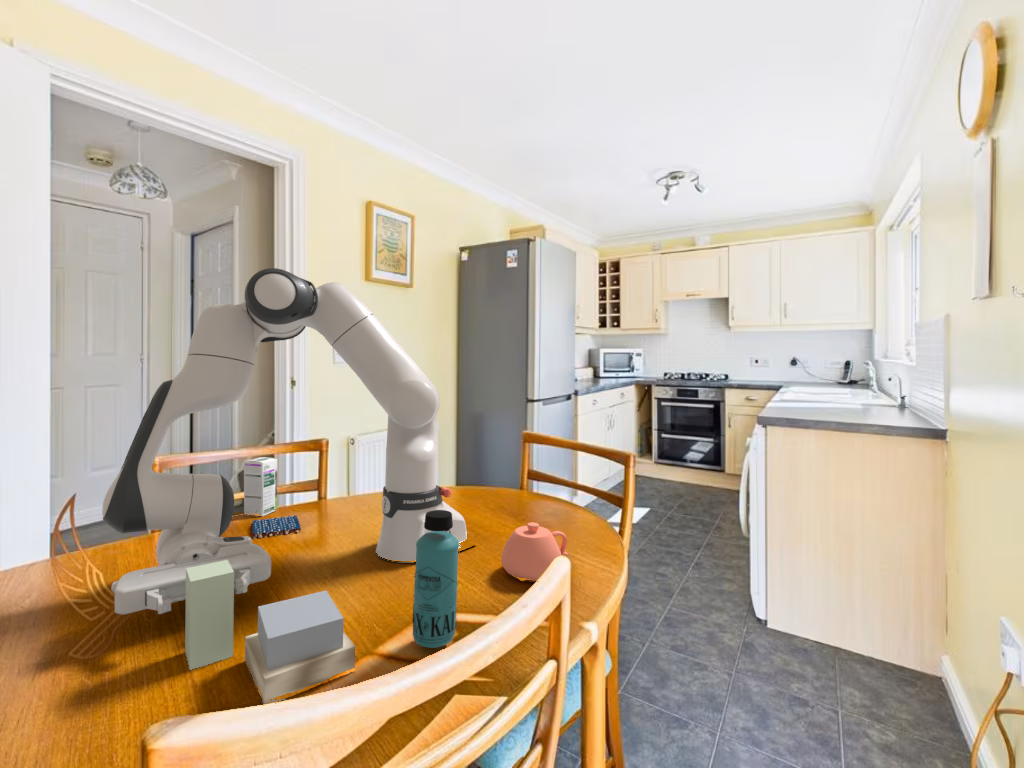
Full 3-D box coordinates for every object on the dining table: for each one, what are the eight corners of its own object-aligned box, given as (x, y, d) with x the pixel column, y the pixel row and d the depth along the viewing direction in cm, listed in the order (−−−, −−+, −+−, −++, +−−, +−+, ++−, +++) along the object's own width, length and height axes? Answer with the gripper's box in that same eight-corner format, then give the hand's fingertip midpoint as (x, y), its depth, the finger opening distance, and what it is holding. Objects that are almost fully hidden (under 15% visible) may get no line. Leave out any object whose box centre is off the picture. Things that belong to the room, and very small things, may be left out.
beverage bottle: (414, 633, 73) (417, 505, 72) (457, 632, 73) (461, 505, 72) (408, 659, 66) (412, 519, 65) (455, 658, 67) (460, 519, 66)
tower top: (325, 616, 70) (326, 590, 70) (342, 647, 63) (343, 618, 63) (257, 634, 65) (258, 606, 65) (267, 670, 58) (268, 638, 57)
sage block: (226, 639, 69) (227, 559, 69) (233, 656, 65) (234, 571, 65) (185, 652, 66) (185, 568, 66) (189, 670, 62) (190, 581, 62)
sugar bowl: (495, 562, 100) (497, 515, 99) (558, 559, 103) (560, 512, 102) (508, 590, 88) (510, 536, 87) (578, 585, 91) (581, 532, 91)
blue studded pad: (249, 527, 116) (250, 519, 116) (296, 521, 122) (297, 514, 122) (250, 541, 107) (250, 533, 107) (301, 535, 113) (301, 526, 113)
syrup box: (262, 517, 122) (263, 462, 122) (242, 515, 124) (243, 460, 123) (277, 510, 128) (278, 457, 127) (258, 508, 129) (259, 456, 129)
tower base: (326, 637, 72) (326, 611, 72) (354, 675, 63) (355, 645, 63) (244, 665, 65) (245, 636, 64) (264, 711, 56) (264, 679, 56)
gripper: (111, 561, 72) (111, 597, 62) (259, 533, 85) (280, 559, 75) (111, 601, 72) (111, 644, 62) (259, 568, 86) (279, 598, 75)
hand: (205, 597), depth 68 cm, fingers open, 8 cm apart
